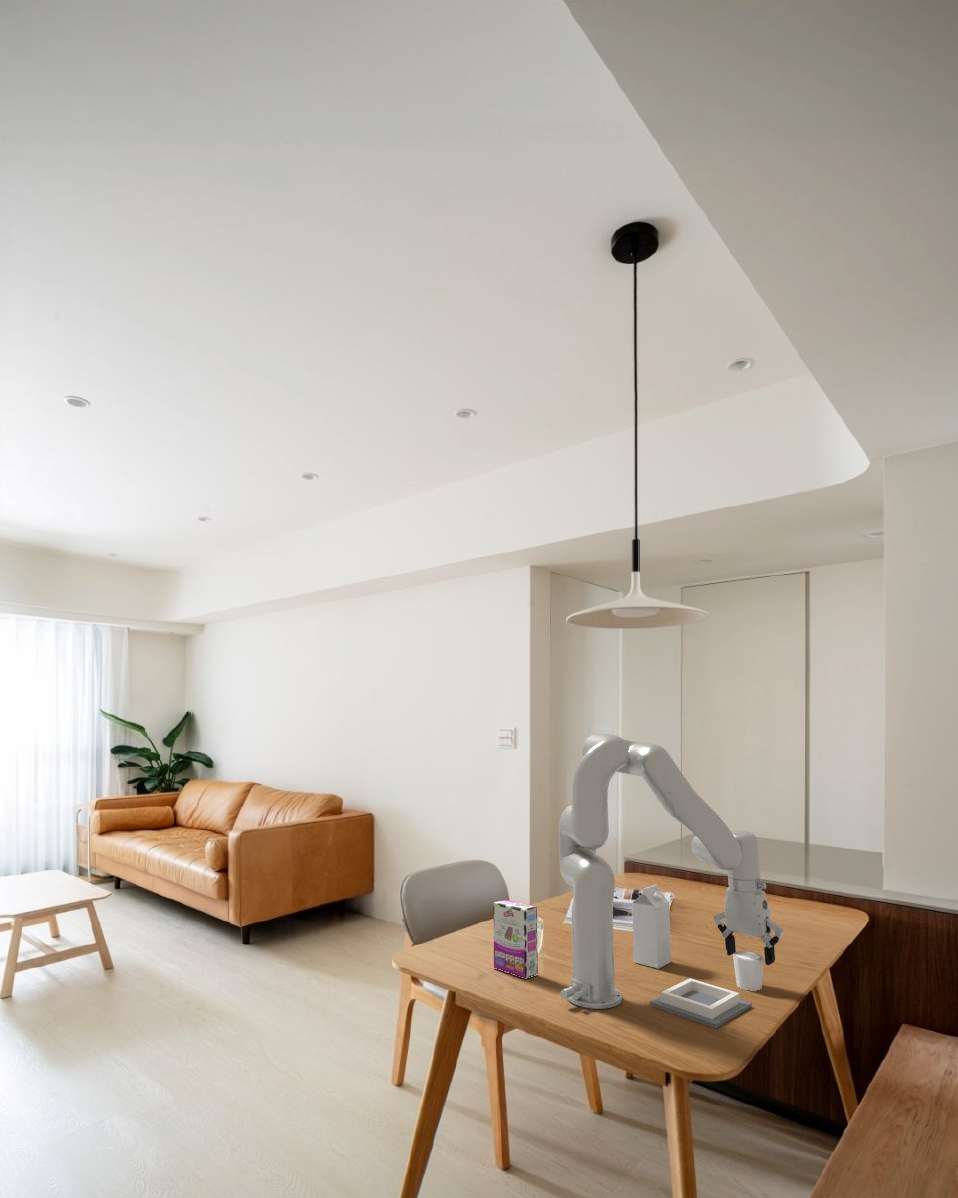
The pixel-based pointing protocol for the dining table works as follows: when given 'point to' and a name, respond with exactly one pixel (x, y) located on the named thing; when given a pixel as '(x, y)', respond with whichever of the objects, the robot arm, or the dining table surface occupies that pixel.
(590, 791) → the robot arm
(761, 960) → the white cup
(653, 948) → the milk carton
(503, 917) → the candy bar box
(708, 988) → the holder tray
